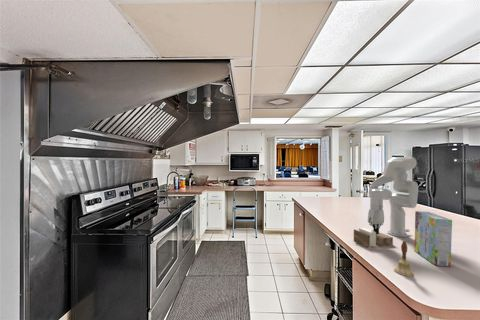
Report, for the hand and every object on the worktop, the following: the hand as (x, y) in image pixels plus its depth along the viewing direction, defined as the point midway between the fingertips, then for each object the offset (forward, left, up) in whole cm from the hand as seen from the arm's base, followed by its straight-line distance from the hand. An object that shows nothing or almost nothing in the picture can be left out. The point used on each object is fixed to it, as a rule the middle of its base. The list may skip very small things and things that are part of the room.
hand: (376, 233), depth 162 cm
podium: (+2, 0, -6) cm, 7 cm away
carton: (+6, 0, -1) cm, 6 cm away
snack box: (-11, +29, -7) cm, 32 cm away
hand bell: (+21, +39, -7) cm, 45 cm away
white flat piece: (-4, -18, -7) cm, 20 cm away
